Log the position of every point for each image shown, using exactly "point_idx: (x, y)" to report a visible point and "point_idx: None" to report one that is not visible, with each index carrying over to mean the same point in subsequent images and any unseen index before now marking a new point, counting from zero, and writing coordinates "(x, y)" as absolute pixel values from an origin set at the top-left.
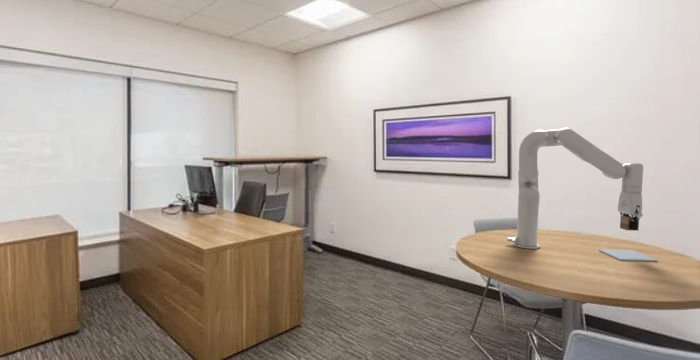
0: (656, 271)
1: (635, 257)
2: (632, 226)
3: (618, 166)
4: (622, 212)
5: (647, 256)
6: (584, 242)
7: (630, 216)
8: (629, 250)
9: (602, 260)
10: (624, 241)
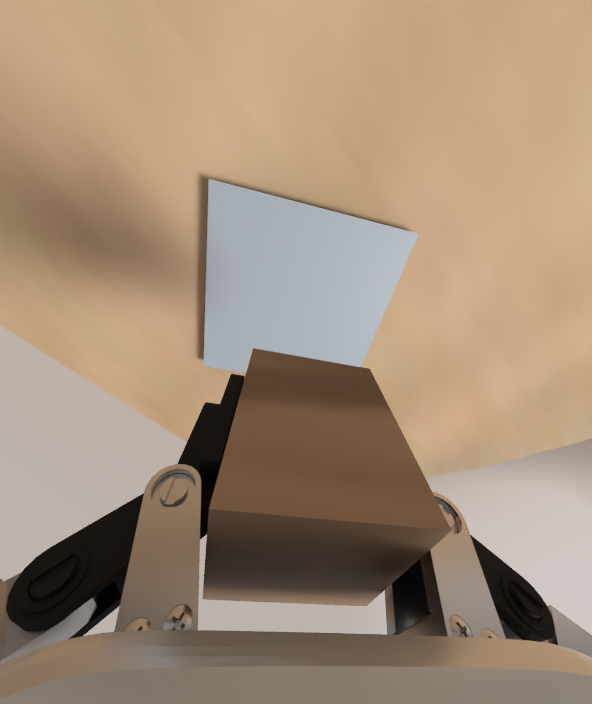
0: (38, 228)
1: (242, 305)
2: (215, 412)
3: None
4: (434, 664)
5: None
6: (568, 308)
7: (317, 579)
8: None
9: (227, 34)
10: (470, 462)
